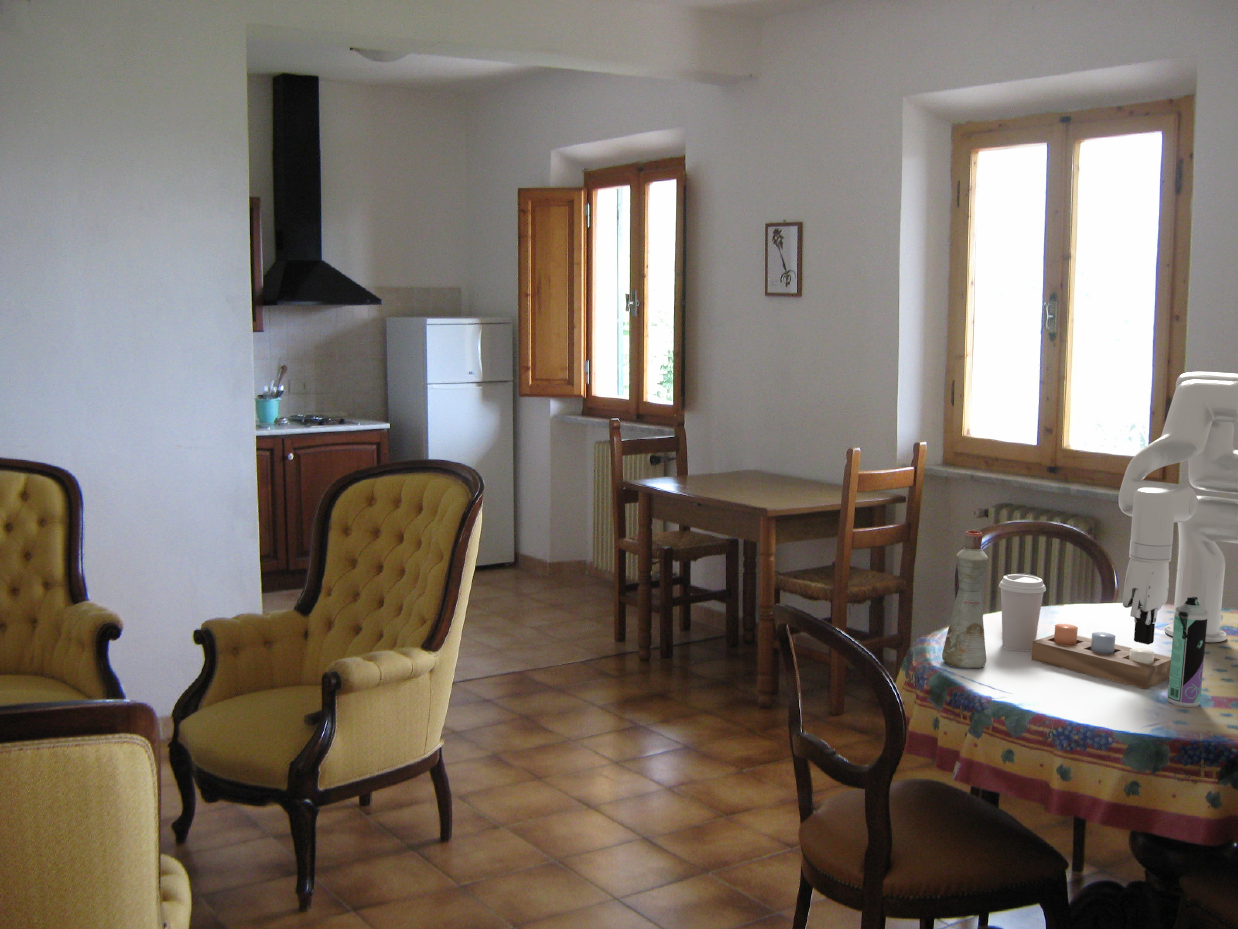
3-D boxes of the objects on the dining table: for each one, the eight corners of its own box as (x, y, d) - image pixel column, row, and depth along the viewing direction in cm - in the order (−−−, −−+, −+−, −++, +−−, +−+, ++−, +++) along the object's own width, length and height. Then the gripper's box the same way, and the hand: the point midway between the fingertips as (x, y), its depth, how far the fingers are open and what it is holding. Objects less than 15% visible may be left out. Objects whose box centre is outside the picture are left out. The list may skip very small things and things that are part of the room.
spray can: (1197, 709, 222) (1207, 602, 219) (1165, 703, 225) (1174, 597, 222) (1201, 701, 226) (1210, 596, 224) (1169, 695, 229) (1178, 592, 227)
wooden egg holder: (1060, 650, 258) (1061, 632, 258) (1173, 677, 241) (1175, 658, 240) (1031, 660, 250) (1032, 641, 250) (1145, 689, 233) (1147, 669, 232)
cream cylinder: (1134, 670, 243) (1136, 646, 242) (1156, 675, 239) (1158, 651, 239) (1124, 674, 240) (1125, 650, 239) (1146, 679, 236) (1148, 655, 236)
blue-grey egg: (1096, 653, 248) (1098, 631, 248) (1117, 658, 245) (1119, 635, 244) (1086, 657, 245) (1087, 634, 245) (1107, 662, 242) (1108, 639, 242)
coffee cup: (1019, 639, 267) (1023, 572, 265) (1051, 650, 258) (1056, 581, 256) (985, 643, 262) (989, 575, 260) (1017, 655, 254) (1022, 585, 252)
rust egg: (1060, 645, 254) (1061, 622, 254) (1080, 649, 251) (1081, 627, 250) (1049, 648, 251) (1051, 626, 251) (1069, 653, 248) (1071, 630, 247)
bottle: (949, 671, 242) (958, 532, 238) (936, 657, 251) (944, 524, 247) (992, 671, 242) (1001, 533, 238) (977, 658, 251) (986, 525, 247)
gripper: (1148, 543, 244) (1142, 631, 247) (1113, 553, 234) (1107, 645, 237) (1186, 549, 239) (1179, 639, 241) (1152, 560, 229) (1144, 654, 231)
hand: (1143, 642), depth 239 cm, fingers closed
